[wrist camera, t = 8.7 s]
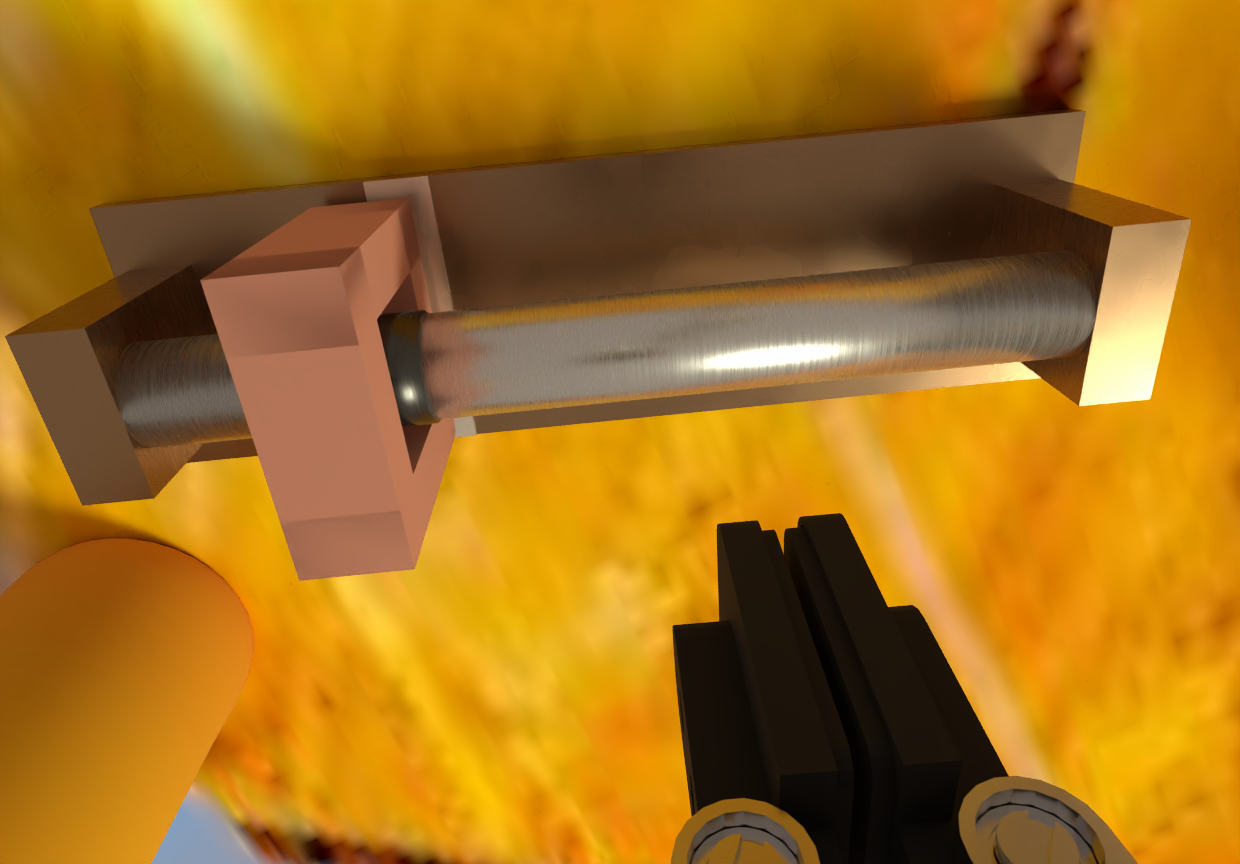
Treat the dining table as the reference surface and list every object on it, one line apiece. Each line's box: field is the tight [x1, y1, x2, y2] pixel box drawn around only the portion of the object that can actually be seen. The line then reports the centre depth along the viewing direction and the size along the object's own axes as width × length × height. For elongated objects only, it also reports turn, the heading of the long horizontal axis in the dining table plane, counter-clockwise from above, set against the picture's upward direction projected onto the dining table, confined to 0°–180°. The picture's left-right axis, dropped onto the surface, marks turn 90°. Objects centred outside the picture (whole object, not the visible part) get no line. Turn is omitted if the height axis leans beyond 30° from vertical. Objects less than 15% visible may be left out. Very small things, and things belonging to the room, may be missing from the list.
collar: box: [200, 198, 456, 581], centre depth 23 cm, size 8×3×8 cm, turn 4°
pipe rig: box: [5, 109, 1192, 505], centre depth 24 cm, size 9×31×7 cm, turn 94°
